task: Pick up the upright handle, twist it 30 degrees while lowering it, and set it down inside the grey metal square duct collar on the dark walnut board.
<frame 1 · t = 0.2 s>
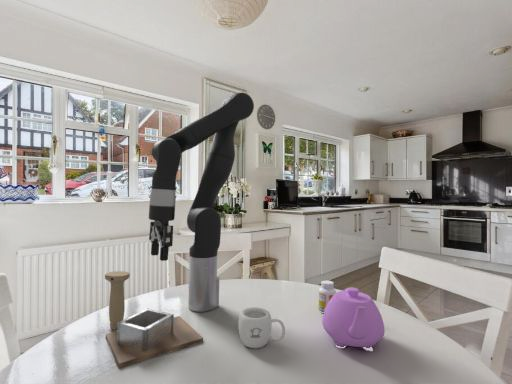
hand: (159, 257, 89), 18 cm above the table, tool pointing down, fingers open, 8 cm apart
supplement bottle: (327, 312, 96), on the table
teapot: (352, 343, 77), on the table
handle: (116, 327, 83), on the table
walnut board: (154, 339, 76), on the table
mug: (261, 344, 75), on the table
duct collar: (146, 341, 75), resting on walnut board
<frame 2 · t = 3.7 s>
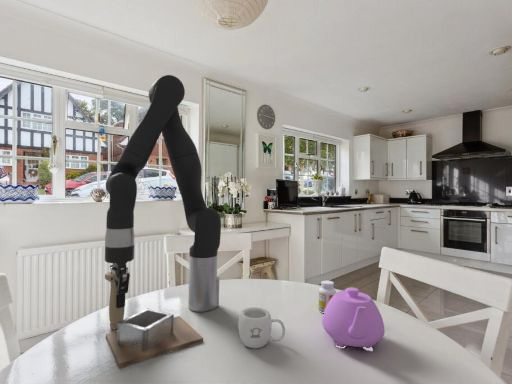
hand: (118, 304, 83), 6 cm above the table, tool pointing down, fingers closed on handle, 4 cm apart
handle: (116, 327, 83), on the table, touching gripper
everything else where it was.
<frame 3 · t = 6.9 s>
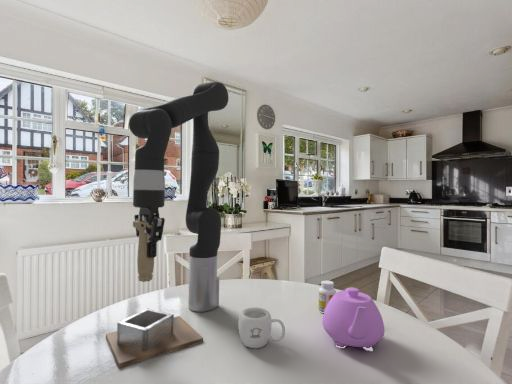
hand: (148, 255, 75), 22 cm above the table, tool pointing down, fingers closed on handle, 4 cm apart
handle: (145, 281, 75), point 16 cm above the table, touching gripper
everything else where it was.
when the fingers open (9 cm above the table, at t = 10.3 s): handle drops 1 cm, resting on walnut board.
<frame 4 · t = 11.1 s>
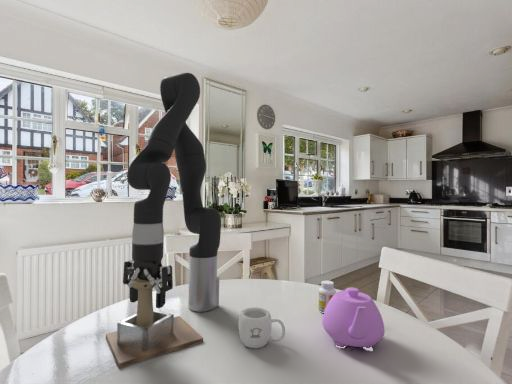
hand: (146, 304, 75), 10 cm above the table, tool pointing down, fingers open, 8 cm apart
handle: (144, 339, 74), point 1 cm above the table, touching walnut board
everything else where it was.
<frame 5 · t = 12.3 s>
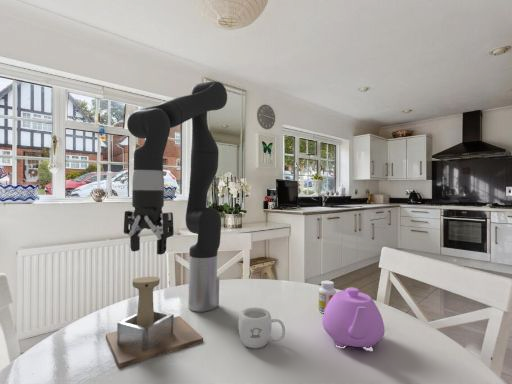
hand: (147, 252, 75), 23 cm above the table, tool pointing down, fingers open, 8 cm apart
nothing on the table moved.
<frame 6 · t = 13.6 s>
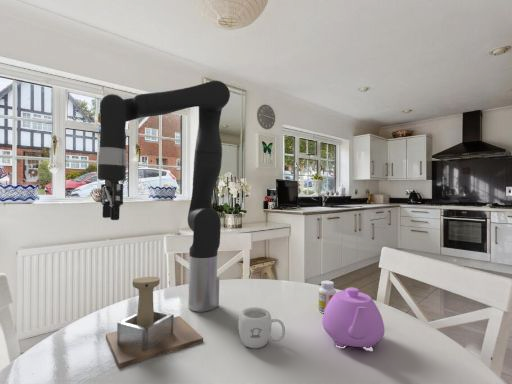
hand: (110, 218, 87), 30 cm above the table, tool pointing down, fingers open, 8 cm apart
nothing on the table moved.
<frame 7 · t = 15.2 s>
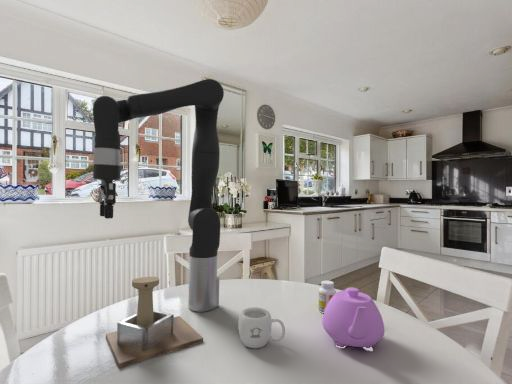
hand: (106, 217, 90), 30 cm above the table, tool pointing down, fingers open, 8 cm apart
nothing on the table moved.
at the end: handle 0.5 cm off-centre on the duct collar, point 0.8 cm above the duct collar's base; handle tilted 1°; the gripper is holding nothing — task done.
